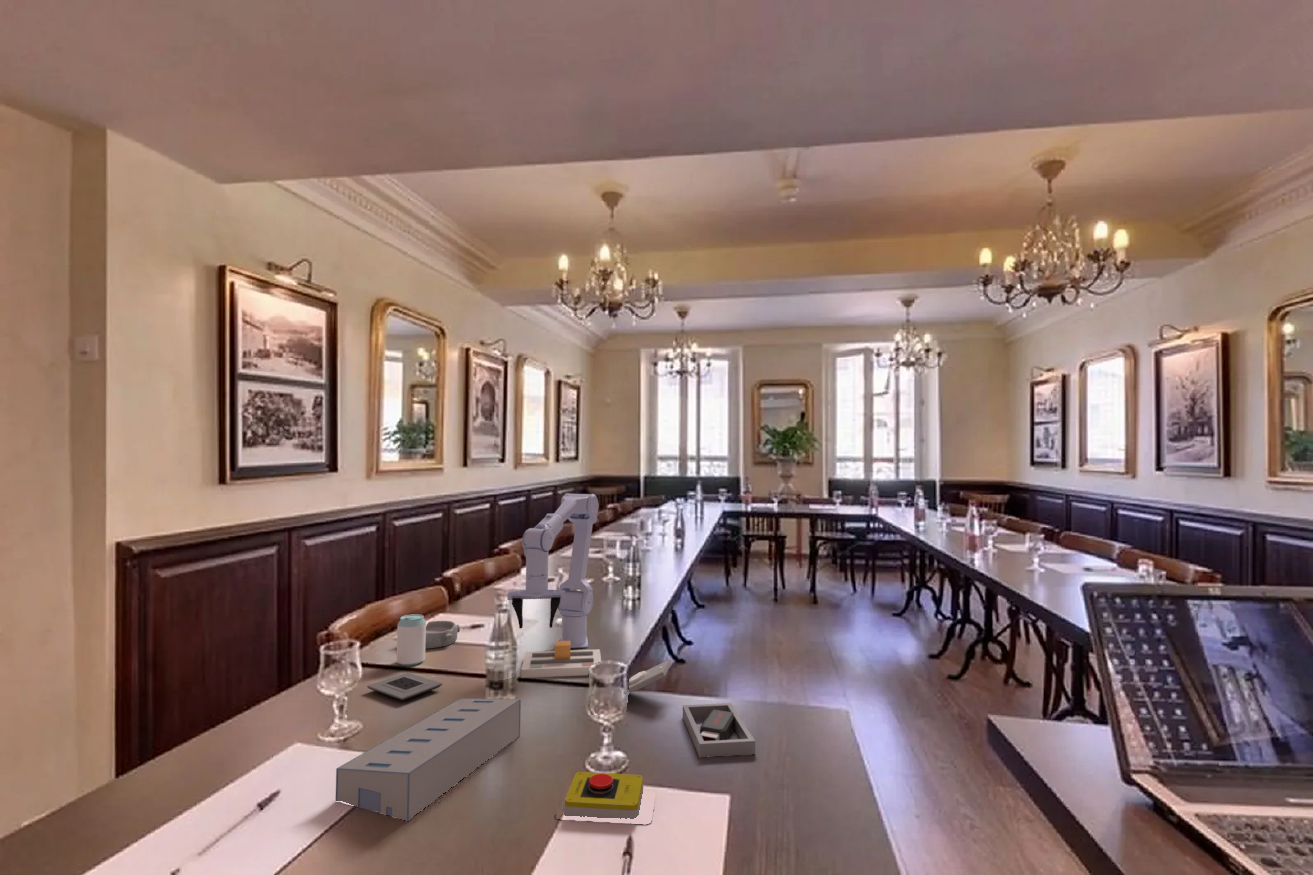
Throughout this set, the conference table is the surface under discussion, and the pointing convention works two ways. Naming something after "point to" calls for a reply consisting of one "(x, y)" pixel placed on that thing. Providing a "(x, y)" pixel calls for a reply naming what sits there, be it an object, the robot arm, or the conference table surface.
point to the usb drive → (717, 725)
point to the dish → (441, 633)
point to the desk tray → (719, 746)
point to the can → (411, 639)
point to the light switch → (648, 676)
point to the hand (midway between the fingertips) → (536, 627)
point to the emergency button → (604, 795)
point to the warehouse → (428, 757)
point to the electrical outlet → (404, 686)
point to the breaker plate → (558, 663)
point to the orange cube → (562, 649)
